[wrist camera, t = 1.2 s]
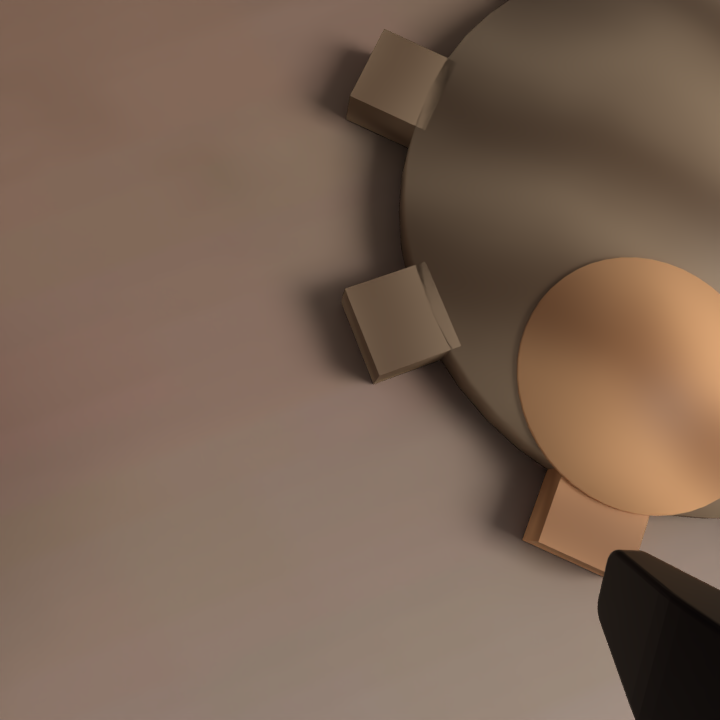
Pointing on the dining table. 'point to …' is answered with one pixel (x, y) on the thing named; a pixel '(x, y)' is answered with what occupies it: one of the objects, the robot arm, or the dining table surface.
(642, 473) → the sprocket plate
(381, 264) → the dining table surface
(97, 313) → the dining table surface
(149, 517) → the dining table surface
